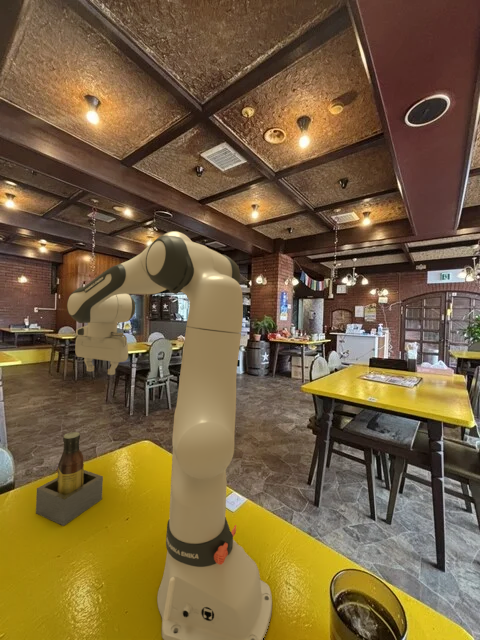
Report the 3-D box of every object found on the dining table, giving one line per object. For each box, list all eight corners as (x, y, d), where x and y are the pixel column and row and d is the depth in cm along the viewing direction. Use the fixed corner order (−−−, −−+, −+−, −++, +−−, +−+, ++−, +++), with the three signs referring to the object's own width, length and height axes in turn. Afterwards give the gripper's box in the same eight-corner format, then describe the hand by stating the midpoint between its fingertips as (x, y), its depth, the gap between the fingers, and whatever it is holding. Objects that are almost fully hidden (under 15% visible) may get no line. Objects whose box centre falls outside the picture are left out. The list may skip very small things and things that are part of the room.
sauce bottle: (66, 496, 83) (69, 428, 83) (87, 497, 82) (90, 430, 82) (50, 511, 76) (53, 438, 76) (73, 512, 76) (76, 439, 76)
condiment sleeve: (101, 499, 83) (102, 476, 83) (63, 526, 72) (64, 499, 72) (76, 489, 87) (76, 467, 87) (35, 513, 76) (36, 488, 76)
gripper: (133, 332, 92) (131, 374, 92) (88, 329, 100) (87, 368, 100) (118, 333, 86) (116, 378, 87) (72, 329, 94) (70, 370, 94)
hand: (100, 372), depth 93 cm, fingers open, 8 cm apart
